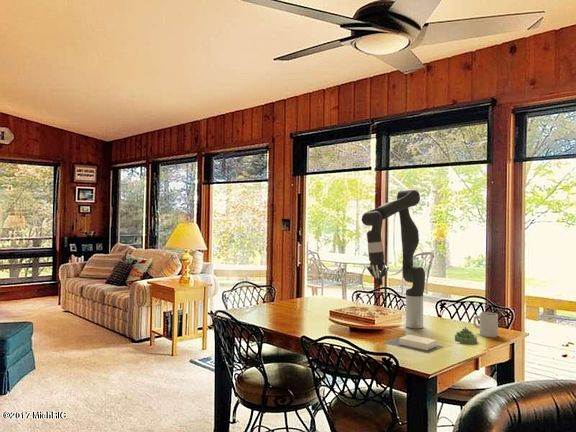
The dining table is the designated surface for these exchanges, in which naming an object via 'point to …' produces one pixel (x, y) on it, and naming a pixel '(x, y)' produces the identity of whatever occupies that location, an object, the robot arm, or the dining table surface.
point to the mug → (487, 324)
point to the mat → (396, 343)
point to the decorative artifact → (465, 337)
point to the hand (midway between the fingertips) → (379, 285)
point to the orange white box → (418, 342)
